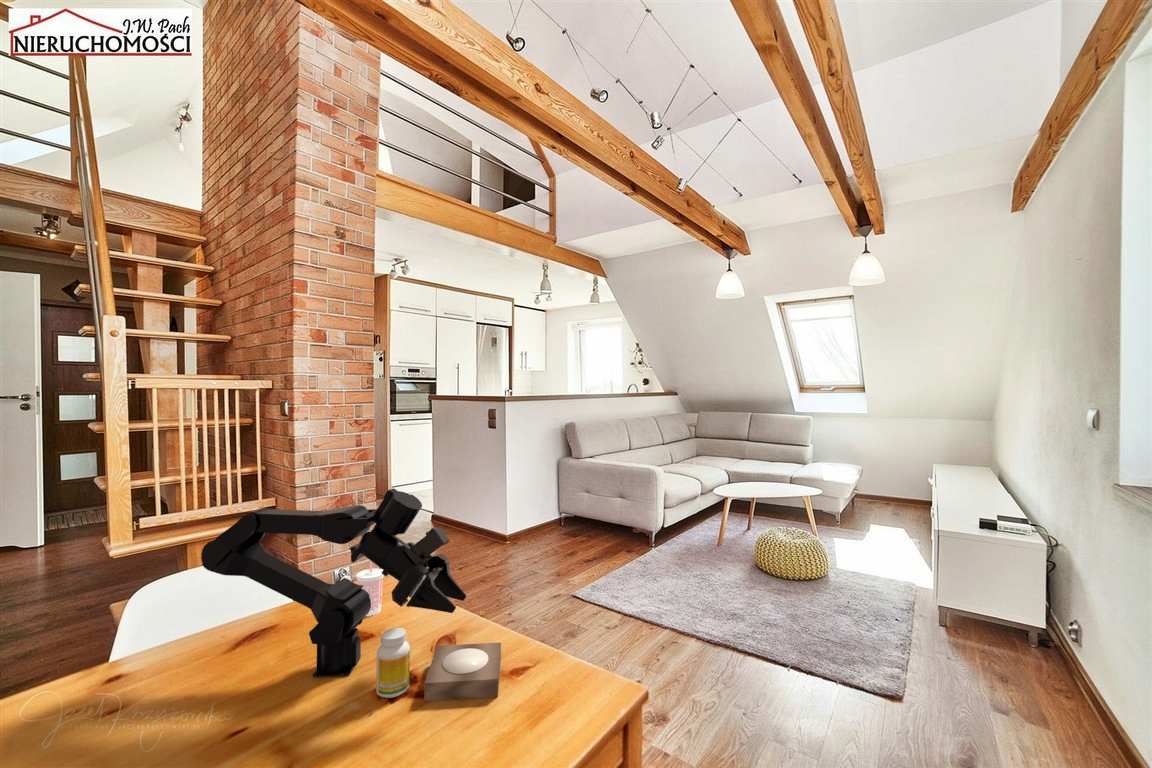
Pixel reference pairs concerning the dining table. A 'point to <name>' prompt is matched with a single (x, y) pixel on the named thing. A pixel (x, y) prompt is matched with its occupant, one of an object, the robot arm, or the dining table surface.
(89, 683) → the dining table surface
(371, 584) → the beverage cup
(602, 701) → the dining table surface
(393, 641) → the supplement bottle
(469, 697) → the brown flat square block
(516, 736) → the dining table surface
